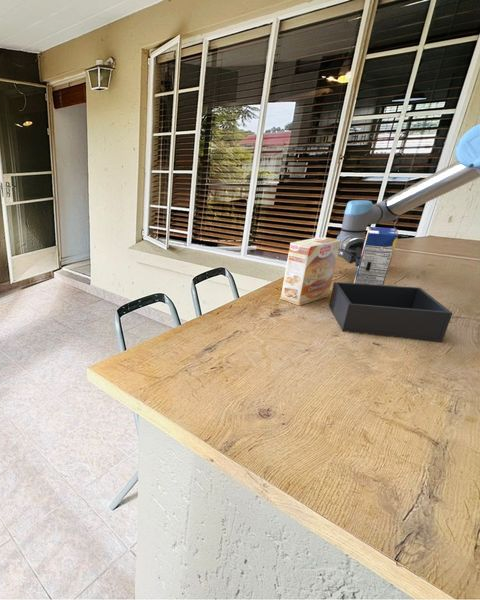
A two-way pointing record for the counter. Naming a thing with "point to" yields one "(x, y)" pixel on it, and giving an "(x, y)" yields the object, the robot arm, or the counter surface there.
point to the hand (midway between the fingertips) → (377, 266)
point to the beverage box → (376, 255)
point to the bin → (389, 311)
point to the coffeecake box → (309, 270)
